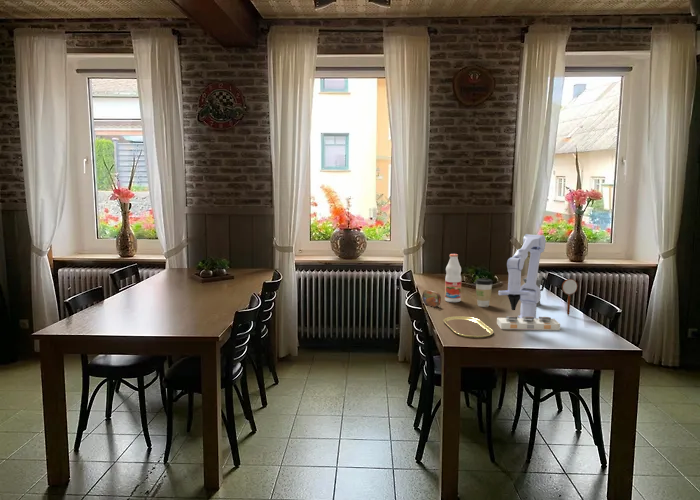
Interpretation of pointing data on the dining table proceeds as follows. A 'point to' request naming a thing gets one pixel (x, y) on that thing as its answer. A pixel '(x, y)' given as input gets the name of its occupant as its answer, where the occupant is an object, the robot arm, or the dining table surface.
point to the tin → (431, 298)
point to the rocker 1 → (511, 317)
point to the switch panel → (528, 324)
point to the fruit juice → (453, 280)
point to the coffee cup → (483, 291)
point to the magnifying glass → (569, 290)
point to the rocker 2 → (545, 318)
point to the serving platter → (471, 320)
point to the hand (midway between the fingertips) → (513, 309)
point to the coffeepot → (538, 284)
